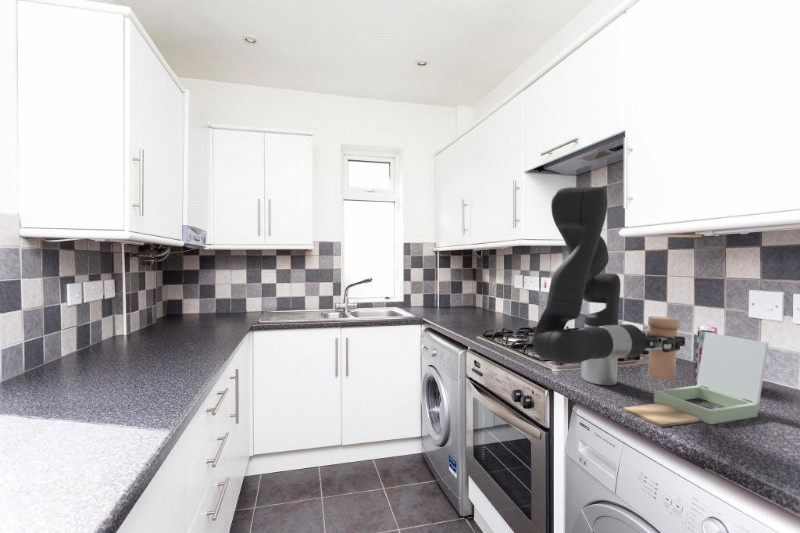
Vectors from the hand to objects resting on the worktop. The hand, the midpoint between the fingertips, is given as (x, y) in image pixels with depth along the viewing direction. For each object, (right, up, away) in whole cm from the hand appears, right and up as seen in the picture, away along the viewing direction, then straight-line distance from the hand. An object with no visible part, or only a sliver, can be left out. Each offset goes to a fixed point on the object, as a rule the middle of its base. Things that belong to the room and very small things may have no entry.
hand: (670, 338), depth 93 cm
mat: (-3, -19, 0) cm, 19 cm away
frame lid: (+20, -16, +7) cm, 27 cm away
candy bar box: (+31, -19, +28) cm, 46 cm away
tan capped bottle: (-3, -9, -1) cm, 9 cm away
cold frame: (+11, -19, +4) cm, 22 cm away
